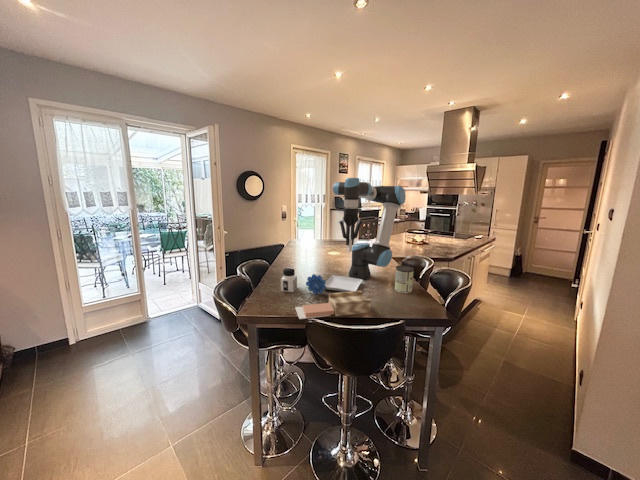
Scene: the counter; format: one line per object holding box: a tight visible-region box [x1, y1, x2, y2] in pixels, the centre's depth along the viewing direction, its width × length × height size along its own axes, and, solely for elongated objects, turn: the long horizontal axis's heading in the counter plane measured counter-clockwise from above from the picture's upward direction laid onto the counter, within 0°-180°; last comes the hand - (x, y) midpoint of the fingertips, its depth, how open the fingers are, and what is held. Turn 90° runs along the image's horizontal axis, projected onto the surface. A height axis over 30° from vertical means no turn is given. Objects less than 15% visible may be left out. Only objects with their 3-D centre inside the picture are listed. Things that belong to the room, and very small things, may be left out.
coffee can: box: [394, 265, 415, 294], centre depth 157 cm, size 10×10×14 cm
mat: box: [294, 306, 331, 320], centre depth 129 cm, size 15×12×1 cm
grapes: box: [305, 273, 327, 295], centre depth 149 cm, size 12×7×12 cm, turn 99°
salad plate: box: [324, 274, 364, 293], centre depth 162 cm, size 21×21×3 cm
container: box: [280, 267, 298, 293], centre depth 156 cm, size 8×8×13 cm
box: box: [328, 290, 372, 317], centre depth 132 cm, size 18×12×7 cm, turn 105°
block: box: [302, 302, 335, 317], centre depth 129 cm, size 14×9×2 cm, turn 103°
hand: (349, 250), depth 143 cm, fingers closed
